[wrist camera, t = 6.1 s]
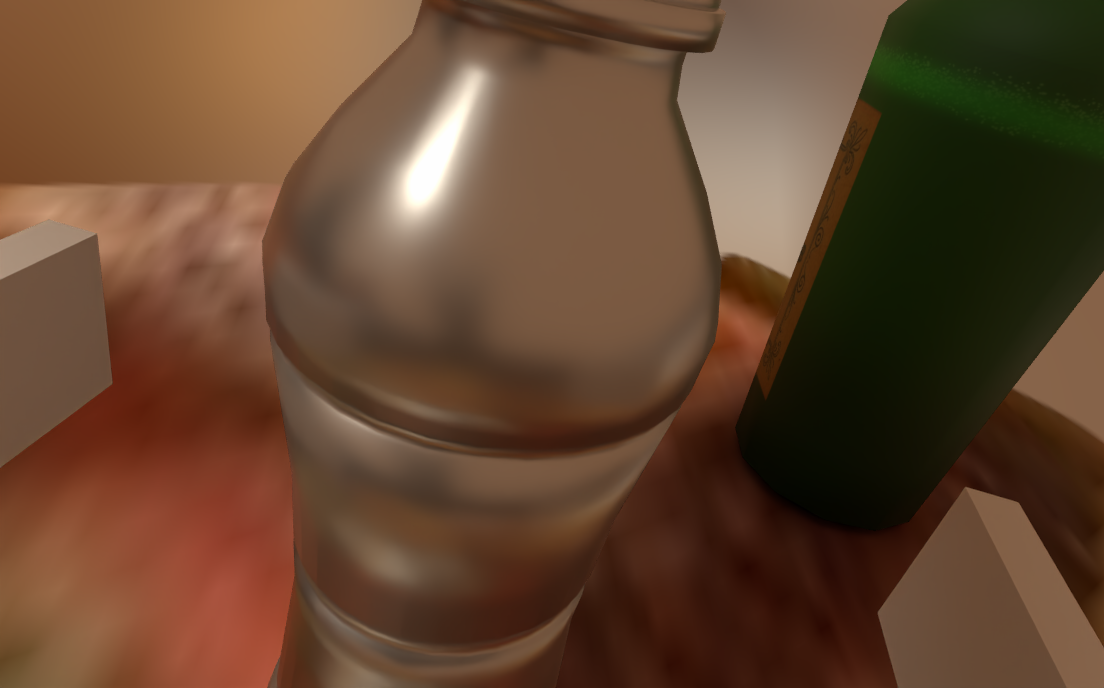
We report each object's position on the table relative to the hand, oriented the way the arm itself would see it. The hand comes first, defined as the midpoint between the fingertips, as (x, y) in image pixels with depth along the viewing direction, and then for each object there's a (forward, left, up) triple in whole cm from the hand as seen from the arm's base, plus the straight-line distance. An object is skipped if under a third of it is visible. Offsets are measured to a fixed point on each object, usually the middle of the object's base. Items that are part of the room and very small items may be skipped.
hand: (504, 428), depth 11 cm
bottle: (+13, +20, -13) cm, 27 cm away
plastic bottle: (-1, +1, -13) cm, 13 cm away
